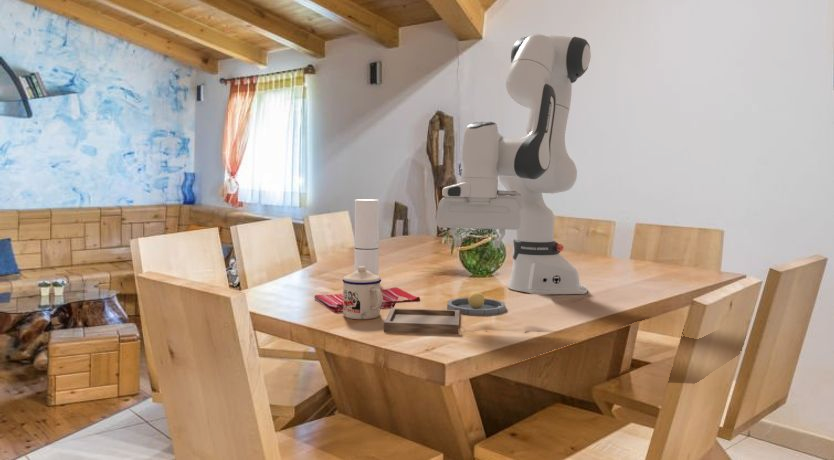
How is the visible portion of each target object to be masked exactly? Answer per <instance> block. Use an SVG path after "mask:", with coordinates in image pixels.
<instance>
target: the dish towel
mask: <svg viewBox="0 0 834 460" xmlns="http://www.w3.org/2000/svg"><path fill="white" fill-rule="evenodd" d="M380 291H381V292H382V295H383V302H382V305H381V307H380V310H381V309H391V308H392V307H394V308H395V306H396V304H397V303H406V302H408V303H413V302H419V301H421V298H420V296H415V295H413V294H410V293H409V292H407V291H404V290H403V289H401V288H399V287H398V286H397V287H391V288H390V287H389V288H385V289H380ZM400 297H402V298H406V299H400V300H399V298H400ZM313 298H314V300H315V301H316V302H317V303H319V304H320V305H322V306H323V307H325V308H326V309H327V310H329V311H330V312H332V313H343V293H339V294H338V293H337V294H336V293H335V294H334V293H333V294H328V293H327V294H315V295H314V296H313Z"/></svg>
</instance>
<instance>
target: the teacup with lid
mask: <svg viewBox="0 0 834 460" xmlns="http://www.w3.org/2000/svg"><path fill="white" fill-rule="evenodd" d="M381 282H382V278H381V276H379V275H378V276H377V275H374V274H372V273H371V272H369V271H366V267H365V266H359V267H358V271H354V270H353V272H352V273H350V274H346V275H344V277H343V278H342V283H343V287H342V288H343V291H342V292H343V293H342V294H343V312H342V314H343V316H344V317H345V318H347V319H352V320H371V319H375V318H378V317H380V315H381V309H380V307H381V305H382V302H383V295H382V292H381V291H380V290H381Z"/></svg>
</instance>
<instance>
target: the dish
mask: <svg viewBox="0 0 834 460" xmlns="http://www.w3.org/2000/svg"><path fill="white" fill-rule="evenodd" d="M468 297H469V296H467V297H457V298H456V297H455V298H453V299H449V300H447V304H446V310H459V315H460V314H462V315H469V316H491V315H498V314H502V313H504V312H505V311H506V307H507V306H506V303H505V302H504V301H501V300H498V299H493V298H489V297H488V298H487V297H484V300H485V301H484V304H483V306H482V307H480V308H472V307H471V306H470V305H469V303H468Z"/></svg>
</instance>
